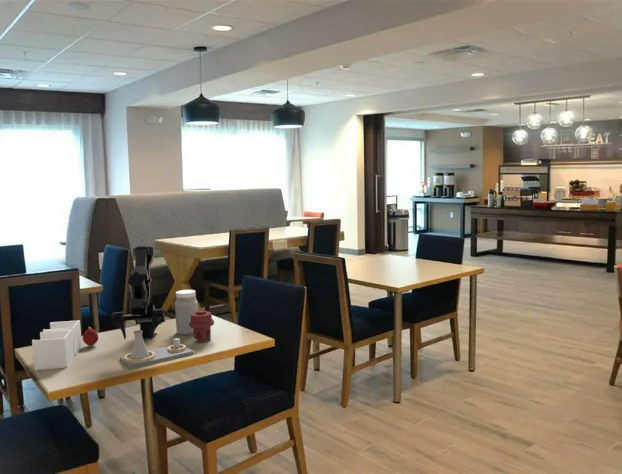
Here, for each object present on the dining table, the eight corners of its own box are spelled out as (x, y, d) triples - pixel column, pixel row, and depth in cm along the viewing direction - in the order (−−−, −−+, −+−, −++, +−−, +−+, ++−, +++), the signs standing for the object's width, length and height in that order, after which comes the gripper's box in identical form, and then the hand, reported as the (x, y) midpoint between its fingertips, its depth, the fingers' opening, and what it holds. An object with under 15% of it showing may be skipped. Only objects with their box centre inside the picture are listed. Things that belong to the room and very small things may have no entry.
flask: (128, 356, 210) (126, 330, 209) (148, 353, 213) (146, 327, 212) (131, 362, 203) (129, 335, 202) (151, 359, 206) (149, 332, 205)
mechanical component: (218, 337, 235) (209, 344, 225) (195, 336, 237) (186, 343, 227) (217, 308, 233) (207, 314, 224) (194, 307, 235) (184, 314, 226)
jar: (196, 335, 238) (194, 293, 236) (173, 336, 238) (171, 294, 236) (201, 329, 248) (199, 288, 246) (179, 329, 248) (177, 289, 246)
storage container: (67, 367, 204) (64, 338, 203) (34, 370, 202) (32, 340, 201) (81, 346, 228) (79, 320, 227) (53, 349, 226) (50, 322, 225)
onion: (102, 345, 229) (100, 325, 228) (91, 349, 224) (89, 329, 223) (91, 343, 231) (90, 324, 230) (80, 347, 226) (78, 328, 225)
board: (130, 368, 200) (129, 354, 200) (119, 360, 210) (118, 346, 209) (193, 354, 214) (192, 340, 214) (180, 346, 224) (179, 333, 223)
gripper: (110, 291, 207) (107, 328, 198) (162, 287, 211) (162, 324, 201) (114, 307, 216) (112, 343, 206) (165, 303, 219) (165, 339, 210)
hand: (138, 337), depth 206 cm, fingers open, 9 cm apart
